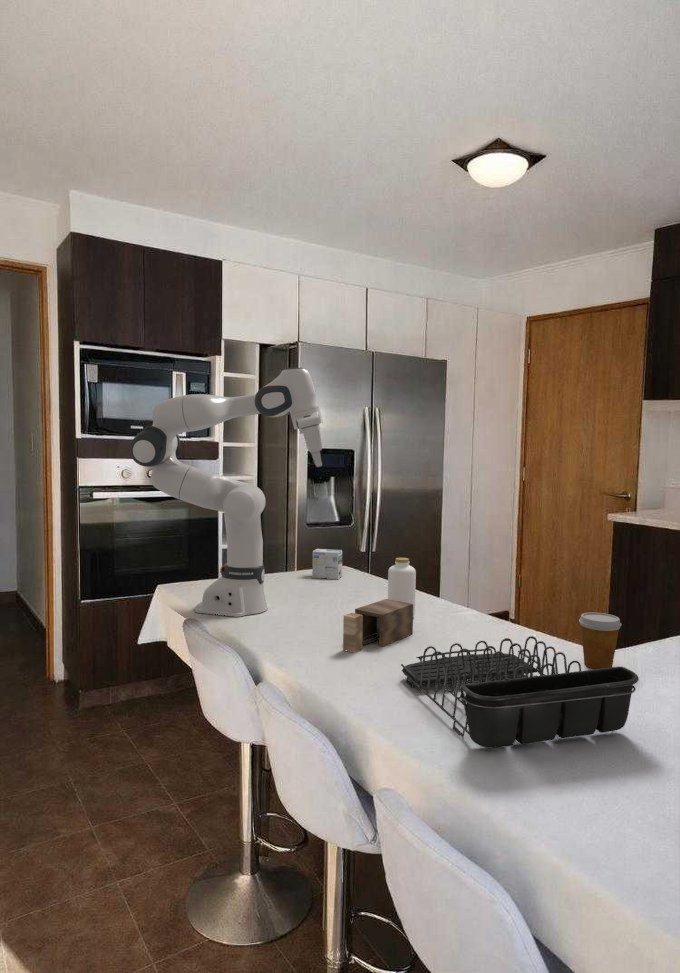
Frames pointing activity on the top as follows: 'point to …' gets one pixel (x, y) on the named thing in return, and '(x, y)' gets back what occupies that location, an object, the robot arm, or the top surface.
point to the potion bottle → (402, 582)
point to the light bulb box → (327, 564)
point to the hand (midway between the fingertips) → (318, 465)
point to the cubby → (387, 620)
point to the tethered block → (355, 632)
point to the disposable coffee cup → (599, 639)
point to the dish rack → (525, 695)
